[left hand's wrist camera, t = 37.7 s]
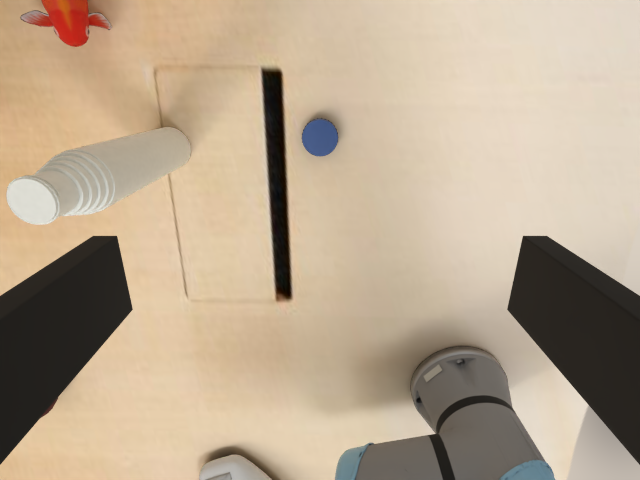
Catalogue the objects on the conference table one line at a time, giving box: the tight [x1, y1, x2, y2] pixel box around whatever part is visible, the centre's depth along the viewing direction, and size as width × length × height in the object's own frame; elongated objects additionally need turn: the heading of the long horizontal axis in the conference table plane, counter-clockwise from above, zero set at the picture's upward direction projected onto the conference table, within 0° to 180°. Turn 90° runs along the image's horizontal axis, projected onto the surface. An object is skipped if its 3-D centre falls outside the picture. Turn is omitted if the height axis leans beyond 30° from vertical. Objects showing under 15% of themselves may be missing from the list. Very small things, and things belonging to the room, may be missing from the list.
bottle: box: [7, 127, 191, 225], centre depth 37 cm, size 5×5×25 cm
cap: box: [302, 118, 338, 156], centre depth 47 cm, size 4×4×2 cm
